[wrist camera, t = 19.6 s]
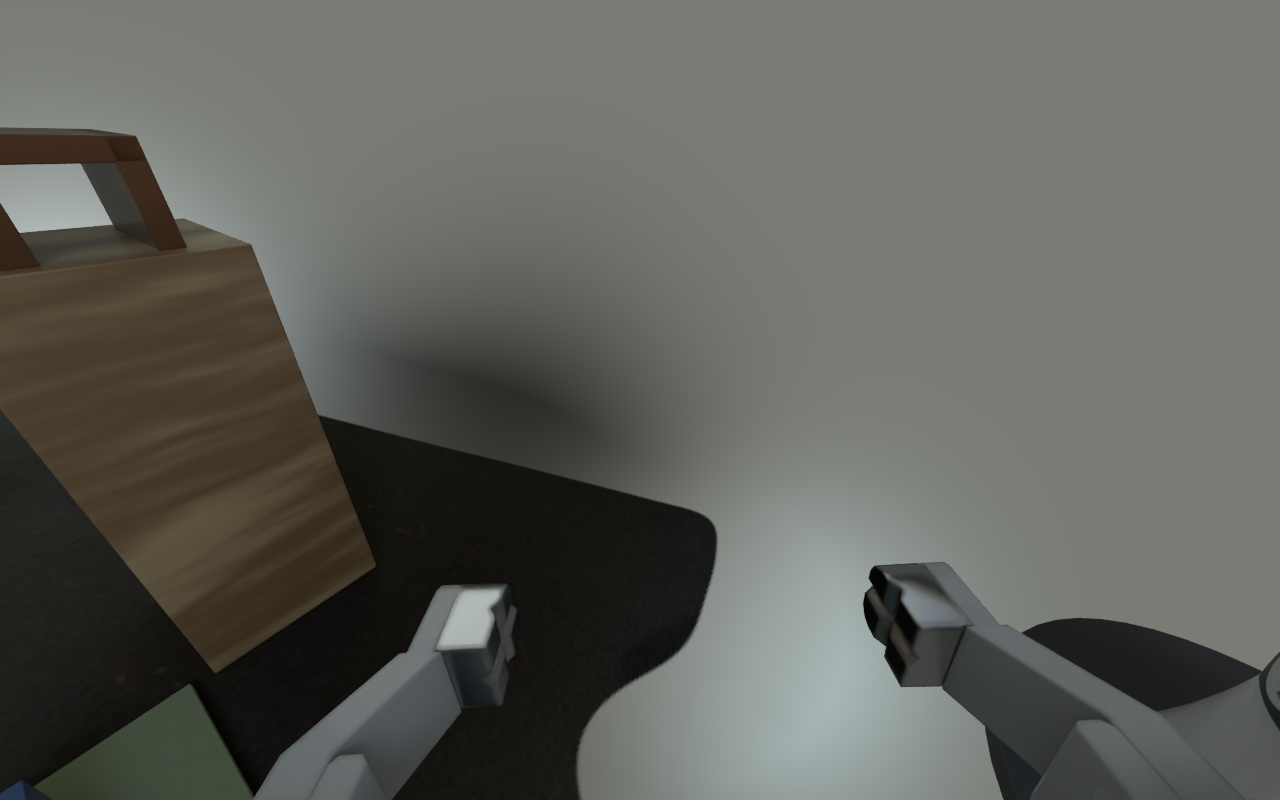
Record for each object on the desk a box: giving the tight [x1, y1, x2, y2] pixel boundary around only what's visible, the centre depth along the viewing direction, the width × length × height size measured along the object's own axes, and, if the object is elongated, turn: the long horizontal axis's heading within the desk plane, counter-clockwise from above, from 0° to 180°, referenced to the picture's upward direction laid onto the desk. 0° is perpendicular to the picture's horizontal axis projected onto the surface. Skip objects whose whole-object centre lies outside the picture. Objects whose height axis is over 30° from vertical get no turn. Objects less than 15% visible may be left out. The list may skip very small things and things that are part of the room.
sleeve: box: [0, 128, 187, 270], centre depth 20 cm, size 8×6×5 cm
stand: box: [0, 219, 376, 673], centre depth 27 cm, size 10×10×24 cm
